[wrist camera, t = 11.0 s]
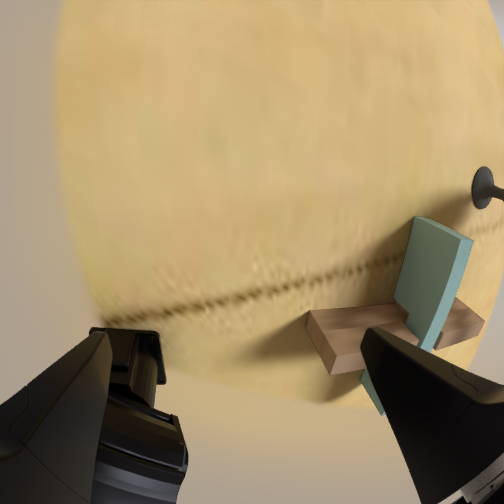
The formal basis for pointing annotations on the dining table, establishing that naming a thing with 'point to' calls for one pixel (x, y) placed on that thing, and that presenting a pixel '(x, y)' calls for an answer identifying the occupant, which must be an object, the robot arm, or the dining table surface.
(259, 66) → the dining table surface
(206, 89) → the dining table surface
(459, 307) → the walnut slotted plate
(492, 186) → the sundae
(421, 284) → the teal slotted plate
